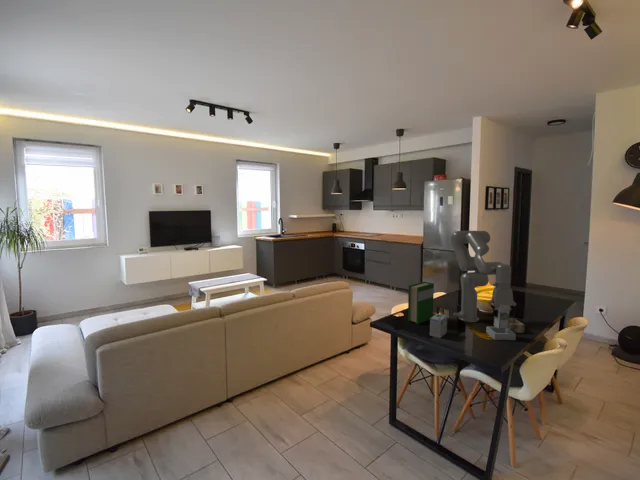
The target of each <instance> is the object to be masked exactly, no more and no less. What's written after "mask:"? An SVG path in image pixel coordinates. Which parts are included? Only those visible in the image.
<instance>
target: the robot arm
mask: <svg viewBox="0 0 640 480" xmlns="http://www.w3.org/2000/svg"><path fill="white" fill-rule="evenodd" d="M490 240H491V235H490V233H489V232H487V231H486V230H457V231H454V232H453V233H452V234H451V236H450V244H451V247H452V249H453V250H454V253H455V256H456V261H457V263H458V267H459V269H460V271H463V272H464V273H462V274H461V275H460V286H461V305H460V306H461V308H460V311H459V312H453V316H456V317H458V319H459V320H461V321H462V322H468V323H478V322H479V321H480V318H479V317H478V316H477V311H478V309H477V308H478V292H477V290H476V289H475V288H476V287H485V286H487V285H488V284H489V281H490V279H489V276H495V281H494V283H492V286H493V287H494V288H493V291H492V296H491V299H490V300H489V301H488V302H487V304H488V305H489V306H490V308H492V310H493V311H492V315H493V317H494V316H495V317H497V307H498V306H500V305H508V306H510V311H509V318H510V316H511V311H512V309H513V308H515V307H516V306H517V303H516V302H515V301H514V295H513V289H512V288H511V283H512V282H511V276H512V266H511V265H509V264H507V263H504V262H500V261H487V262H486V261H485V260H484V259H483V256H485V255H487V253H488V252H489V251H490V247H489V245H488V243H490ZM464 244H469V246H470V247H471V249H472V251H473V252H474V253H475V254H474V256H472V255H471V254H470V251H469V249H468V247H467V246H466V245H464Z"/></svg>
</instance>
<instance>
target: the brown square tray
mask: <svg viewBox="0 0 640 480" xmlns="http://www.w3.org/2000/svg"><path fill="white" fill-rule="evenodd" d="M525 326H526V325H525V324H524V323H523V322H522V321H520V320H518V319H517V318H514V317H513V318H512V317H511V318H510V317H509V328H508V329H510V330H511V331H512V332H514V333H515V334H524V333H525Z"/></svg>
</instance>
